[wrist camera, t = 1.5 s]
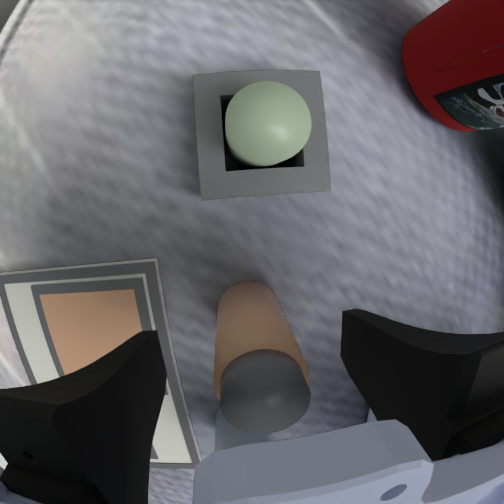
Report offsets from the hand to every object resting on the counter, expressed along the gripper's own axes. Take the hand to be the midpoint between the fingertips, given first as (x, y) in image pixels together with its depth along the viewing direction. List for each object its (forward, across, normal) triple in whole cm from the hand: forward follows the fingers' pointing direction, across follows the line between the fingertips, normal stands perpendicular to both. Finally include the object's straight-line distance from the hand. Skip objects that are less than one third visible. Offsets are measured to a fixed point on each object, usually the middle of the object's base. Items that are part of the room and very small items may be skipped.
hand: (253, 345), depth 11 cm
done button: (+4, -1, -8) cm, 9 cm away
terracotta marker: (+4, 0, 0) cm, 4 cm away
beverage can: (+4, -12, -12) cm, 17 cm away
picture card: (+4, +9, +4) cm, 10 cm away
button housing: (+4, -1, -8) cm, 9 cm away
